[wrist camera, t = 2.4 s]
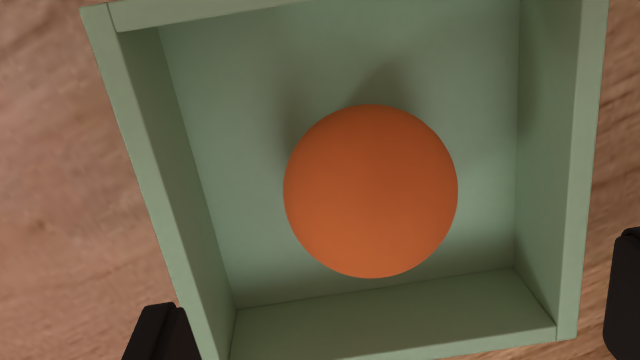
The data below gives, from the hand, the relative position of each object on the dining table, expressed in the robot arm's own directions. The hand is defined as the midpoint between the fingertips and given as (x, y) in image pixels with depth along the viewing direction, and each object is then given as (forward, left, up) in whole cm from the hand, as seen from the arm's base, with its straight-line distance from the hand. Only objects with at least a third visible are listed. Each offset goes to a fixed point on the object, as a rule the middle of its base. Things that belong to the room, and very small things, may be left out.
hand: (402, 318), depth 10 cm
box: (0, 0, -10) cm, 10 cm away
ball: (0, 0, -7) cm, 7 cm away
